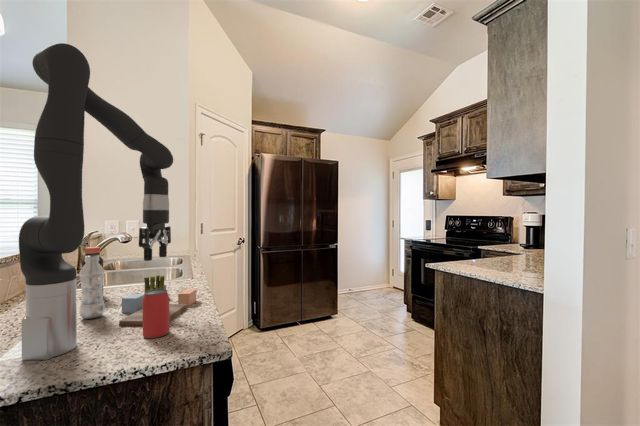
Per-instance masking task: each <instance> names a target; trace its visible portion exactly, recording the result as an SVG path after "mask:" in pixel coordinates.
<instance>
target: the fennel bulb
mask: <svg viewBox="0 0 640 426" xmlns="http://www.w3.org/2000/svg"><path fill="white" fill-rule="evenodd" d="M165 278H166V277H165V276H164V275H159V274H156V276H155V275H151V276H150V277H149V276H144V280H143V281H144V292H143V294H144V295H145V292H146V291H149V290H154V289H164V285H165ZM155 285H156V288H155Z"/></svg>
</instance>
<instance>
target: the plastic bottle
mask: <svg viewBox="0 0 640 426" xmlns="http://www.w3.org/2000/svg"><path fill="white" fill-rule="evenodd" d="M99 256H100V254H99V255H88V256H86V255H84V258H85V262H86V264H85V265H84V266H83V267H82V266H81V269H80V271H79V280H80V284H81V285H80V287H81V300H80V302H81V303H80V307H79V315H80V317H81V318H82V319H85V320H87V319H96V318H99V317H101V316H103V315H104V313H105V310H106V305H105V301H104V291H103V292H102V289H103V290H104V278H105V277H104V276H105V270H104V266H103V267H102V266H101V265H100V264H99V263H98V261H99ZM102 287H103V288H102Z"/></svg>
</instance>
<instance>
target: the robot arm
mask: <svg viewBox="0 0 640 426" xmlns="http://www.w3.org/2000/svg"><path fill="white" fill-rule="evenodd" d="M31 64H32V68H33V70H34V72H35V74H36V75H37V76H38V78H39V79H40V80H42V81H43V82H44V83H45V84H46V85H47V89H48V92H47V98H46V101H45V105H44V107H43V110H42V112H41V113H40V117H39V120H38V121H37V125H36V128H35V133H34V141H33V142H34V143H33V144H34V146H33V159H34V160H33V161H34V165H35V167H36V169H37V170H38V173H39V175H40V177H41V178H42V180H43V183H44V184H45V185H46V188H47V191H48V193H49V215H36V216H32V217H30V218H29V219H27V220H26V221H25V222H24V223H23V224H22V226H21V227H20V230H19V233H18V251H19V263H20V264H19V265H20V270H21V273H22V274H23V276H24V279H25V317H23V318H22V319H21V360H23V361H24V360H27V361H28V360H31V361H32V360H36V361H37V360H39V361H40V360H45V361H46V360H50V359H52V358H55V357H58V356H61V355H63V354H66V353H68V352H71V351H72V350H74V349H75V348H76V347H77V344H78V343H77V342H78V340H77V337H78V336H77V334H78V333H77V329H78V328H77V327H78V326H77V321H78V320H77V269H76V267H75V266H74V265H71V264H70V263H68V262H67V261H66V260H65V259H64V258H63V254H70V253H71V254H72V253H73V252H75V251H76V250H78V248H80V247H81V246H82V243H83V241H84V237H85V218H84V207H83V205H84V204H83V165H84V153H85V152H84V150H85V148H84V147H85V137H84V136H85V115H86V114H85V112H86V113H87V114H88V115H89V116H91V117H92V118H93V119H94V120H96V121H98V123H100V124H101V125H102V126H103V127H104V128H106V130H108V131H109V132H110V133H111V134H112V135H113V136H115V137H116V138H117V139H118V140H119V141H120V142H121V143H122V144H124V146H125V147H127V148H128V149H129V150H132V151H137V152H140V153H141V154H140V156H139V168H140V171H141V172H140V173H141V176H142V179H143V182H144V183H143V201H142V223H143V224H146V226H145V227H142V226H141V227H139V231H138V232H139V233H138V247H139V248H142V249H143V260H144V261H145V262H151V261H152V260H153V246H154V244H155V243H158V245H159V246H158V252H159V253H158V256H159V258H167V253H168V251H167V248H168V247H167V246H168V245H169V244H171V243H172V235H171V233H172V231H171V226H170V225H169V226H168V225H165V224H169V222H170V198H169V180H168V179H167V178H166V177H164V176H163V175H162V170H166V169H169V168H170V167H171V166H172V165H173V164H174V156H173V155H172V152H171V151H170V149H169V148H168V147H167V146H166V145H164V144H163V143H161V142H160V141H159V140H157V139H156V138H154V137H153V136H151V135H150V134H148V133H147V132H146V131H145V130H144V129H143V128H142V127H141V126H140V125H139V124H138V123H137V122H136V121H135V120H134V119H133V118H132V117H131V116H130V115H129V114H127V113H125V111H123V110H121V109H120V108H118V107H116V106H115V105H114V104H112V103H110V102H108V101H107V100H106V99H104V98H102V97H101V96H100V95H98V94H97V93H96V92H94V91H93V90H92V89H91V88H90V87H89V84H90V78H91V68H90V63H89V61H88V60H87V58H86V56H85V55H84V53H83V52H81V50H80V49H78V48H77V47H76V46H74V45H72V44H69V43H63V42H58V43H54V44H51V45H49V46H47V47H45V48H44V49H42V50H41V51H39V52H37V53H35V55H34V56H33V58H32V63H31Z"/></svg>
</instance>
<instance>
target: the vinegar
mask: <svg viewBox="0 0 640 426" xmlns="http://www.w3.org/2000/svg"><path fill="white" fill-rule="evenodd" d="M100 253H101V246H89V247H84V256H88V255H99V261H98V263H99V264H100V265H101V266H102V267H103V268H104V259H103V258H102V256H100ZM85 264H86V262H85V257H84V258H83V259H82V260H81V268H82V267H83V266H84V265H85ZM102 288H103V289H102V292H103V293H104V286H103V287H102Z"/></svg>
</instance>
